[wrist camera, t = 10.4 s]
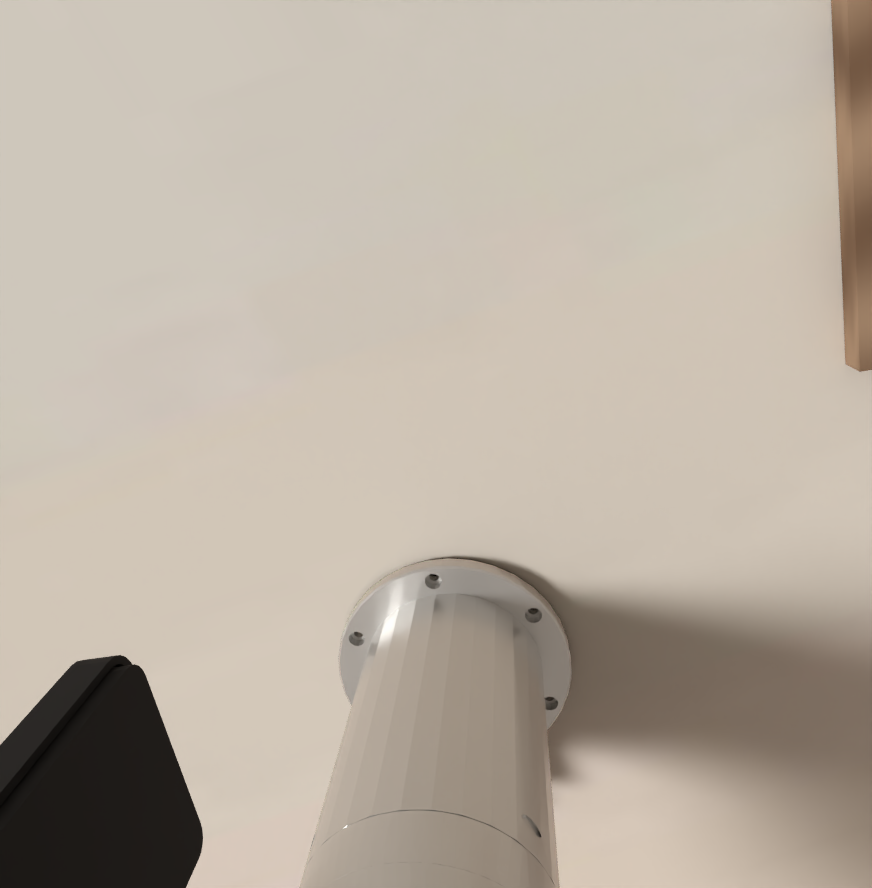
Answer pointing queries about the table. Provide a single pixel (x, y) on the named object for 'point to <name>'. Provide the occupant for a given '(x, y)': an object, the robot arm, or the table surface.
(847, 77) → the dial board
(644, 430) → the table surface
